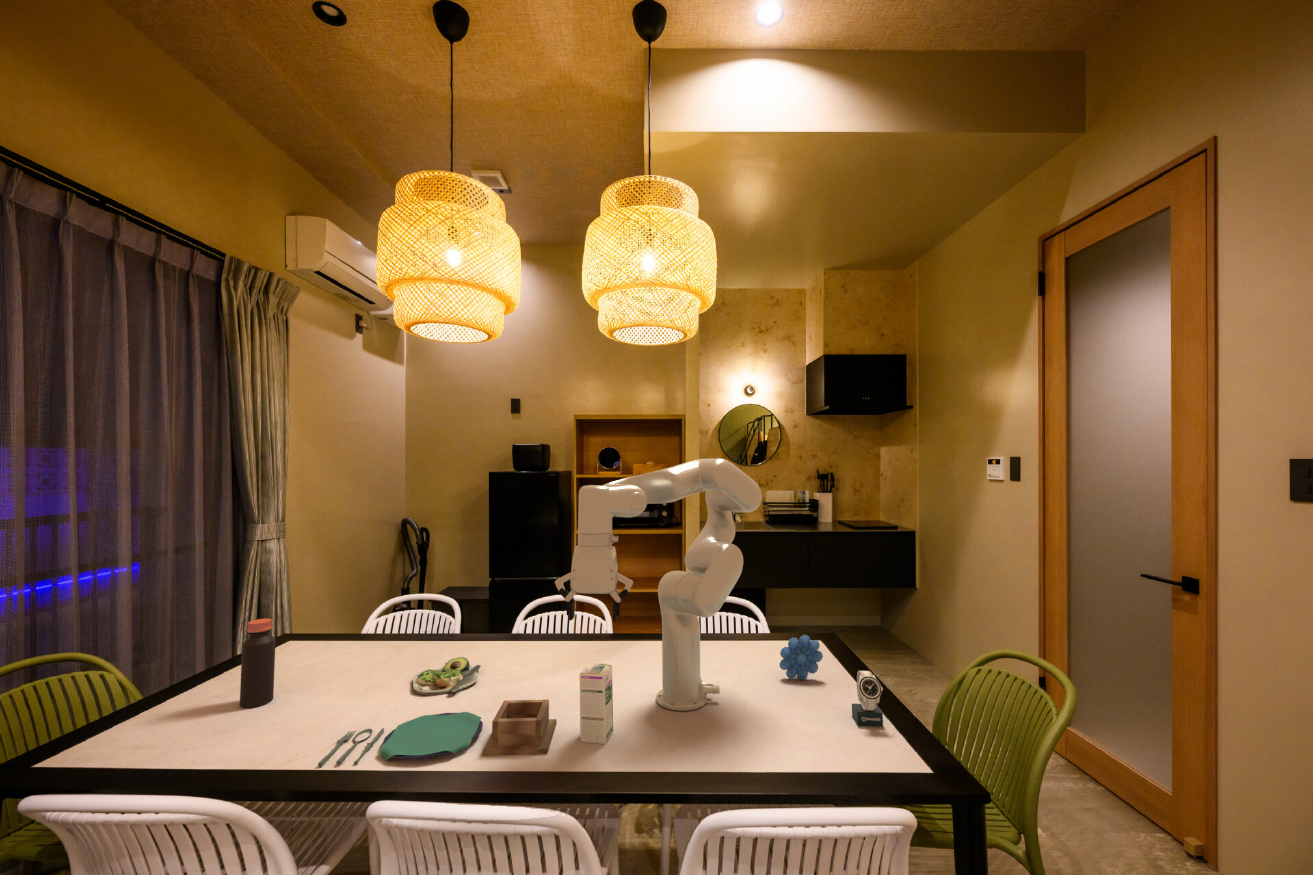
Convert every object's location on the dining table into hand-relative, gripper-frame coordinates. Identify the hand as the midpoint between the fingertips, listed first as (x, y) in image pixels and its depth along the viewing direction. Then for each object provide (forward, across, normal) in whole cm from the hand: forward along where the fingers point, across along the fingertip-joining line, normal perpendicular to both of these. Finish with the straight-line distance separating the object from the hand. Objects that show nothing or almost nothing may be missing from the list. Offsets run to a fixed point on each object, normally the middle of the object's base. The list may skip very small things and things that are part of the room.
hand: (593, 619), depth 117 cm
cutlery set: (+26, +38, +3) cm, 46 cm away
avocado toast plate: (+26, +44, -29) cm, 59 cm away
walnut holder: (+25, +15, +2) cm, 29 cm away
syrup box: (+25, -1, +1) cm, 25 cm away
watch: (+24, -62, -7) cm, 67 cm away
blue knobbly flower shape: (+24, -53, -32) cm, 66 cm away
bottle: (+26, +86, -15) cm, 91 cm away
